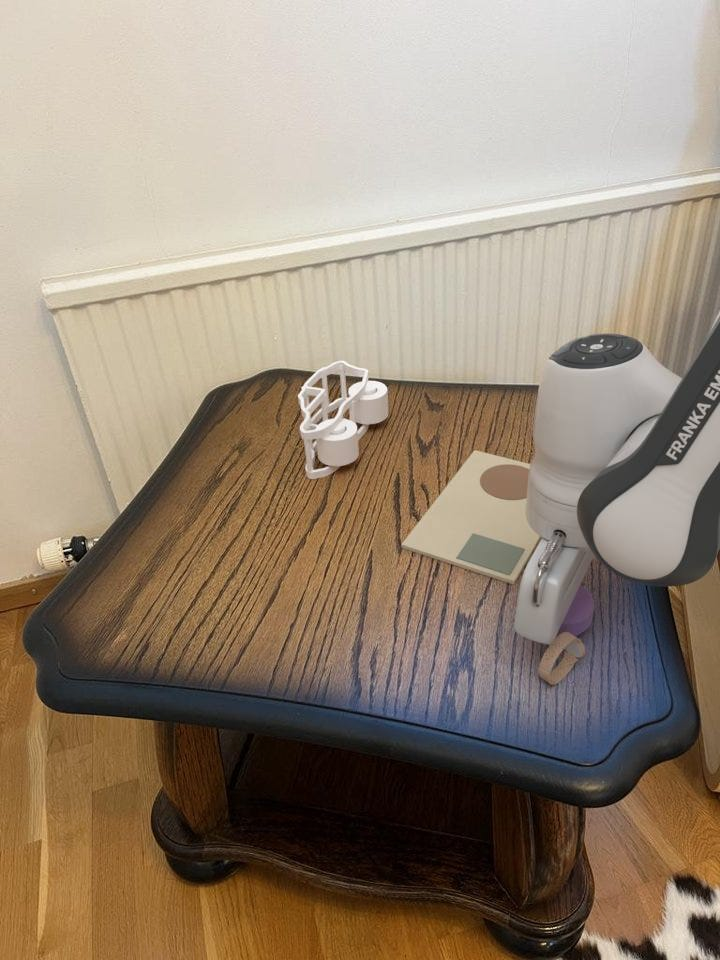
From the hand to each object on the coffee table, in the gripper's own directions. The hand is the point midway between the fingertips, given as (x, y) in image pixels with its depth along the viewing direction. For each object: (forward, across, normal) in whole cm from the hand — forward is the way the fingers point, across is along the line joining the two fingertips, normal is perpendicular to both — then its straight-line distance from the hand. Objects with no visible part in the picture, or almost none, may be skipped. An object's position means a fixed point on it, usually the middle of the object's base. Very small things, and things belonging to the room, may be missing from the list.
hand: (560, 609), depth 78 cm
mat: (+2, +14, +13) cm, 19 cm away
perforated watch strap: (+2, -7, -2) cm, 8 cm away
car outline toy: (+2, +20, +39) cm, 44 cm away
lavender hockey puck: (+2, 0, 0) cm, 2 cm away
